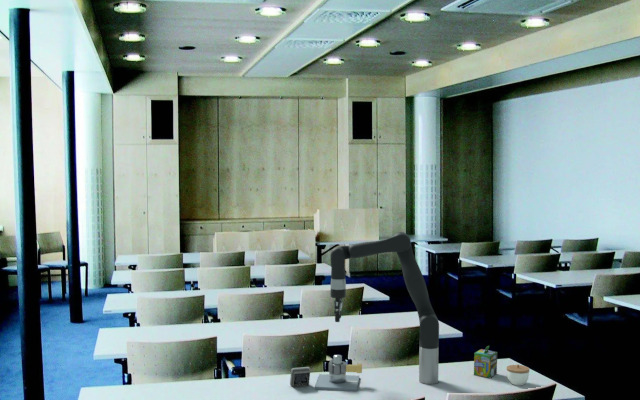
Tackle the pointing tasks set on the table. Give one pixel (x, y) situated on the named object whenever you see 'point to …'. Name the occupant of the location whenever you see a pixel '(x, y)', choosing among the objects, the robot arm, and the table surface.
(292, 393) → the table surface
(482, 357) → the chalk box
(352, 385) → the base board
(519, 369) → the lidded jar
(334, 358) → the post
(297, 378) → the electrical switch
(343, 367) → the coupling
